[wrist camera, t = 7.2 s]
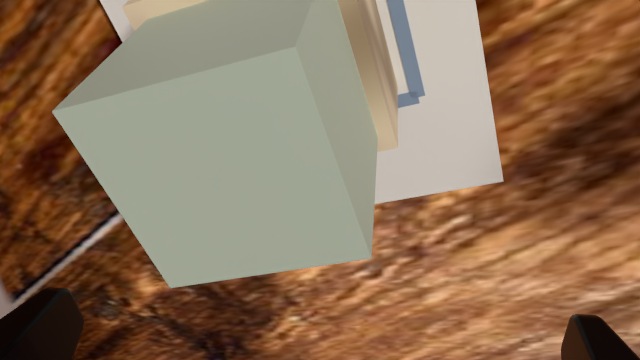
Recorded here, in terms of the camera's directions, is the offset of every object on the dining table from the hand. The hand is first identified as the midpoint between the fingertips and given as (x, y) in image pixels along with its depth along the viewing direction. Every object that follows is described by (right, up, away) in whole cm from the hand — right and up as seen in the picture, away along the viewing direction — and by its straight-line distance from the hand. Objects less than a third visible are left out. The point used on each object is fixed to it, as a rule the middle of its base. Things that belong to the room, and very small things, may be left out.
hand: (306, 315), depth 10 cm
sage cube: (-1, +5, +5) cm, 8 cm away
